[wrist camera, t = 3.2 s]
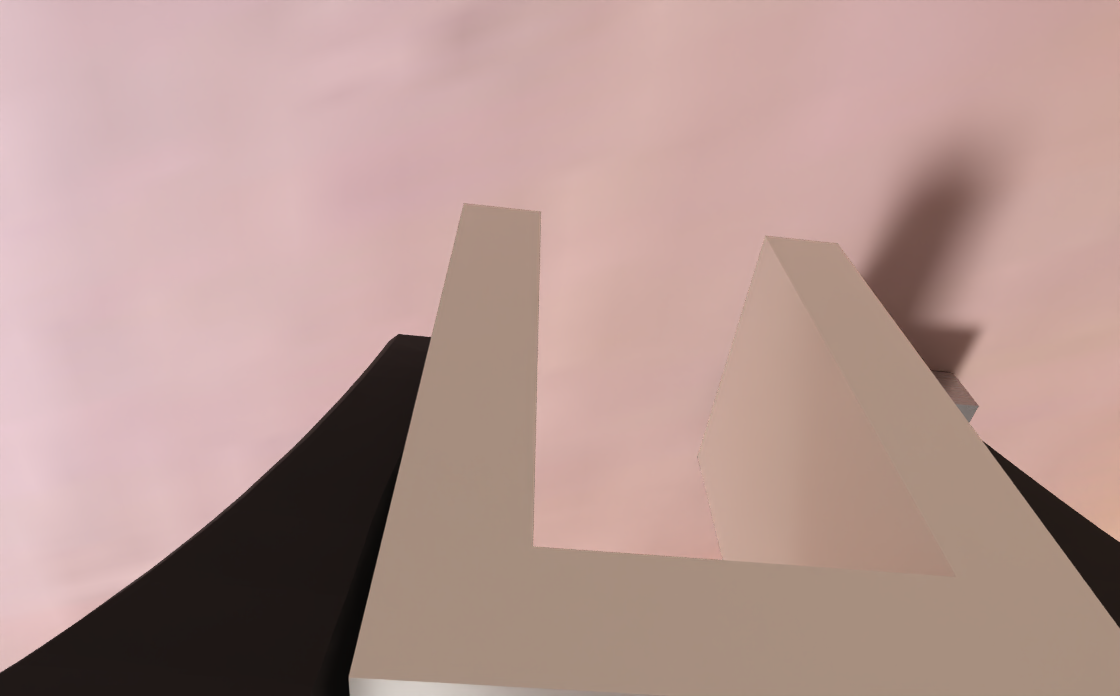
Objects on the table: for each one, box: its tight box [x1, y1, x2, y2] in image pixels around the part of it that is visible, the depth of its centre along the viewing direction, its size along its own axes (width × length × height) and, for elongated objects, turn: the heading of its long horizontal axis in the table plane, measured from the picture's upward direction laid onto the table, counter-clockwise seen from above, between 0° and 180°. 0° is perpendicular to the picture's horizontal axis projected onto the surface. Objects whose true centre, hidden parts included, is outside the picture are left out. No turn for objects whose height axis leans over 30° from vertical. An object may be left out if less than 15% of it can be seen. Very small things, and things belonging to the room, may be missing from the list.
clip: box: [349, 203, 1120, 696], centre depth 8 cm, size 5×4×6 cm
